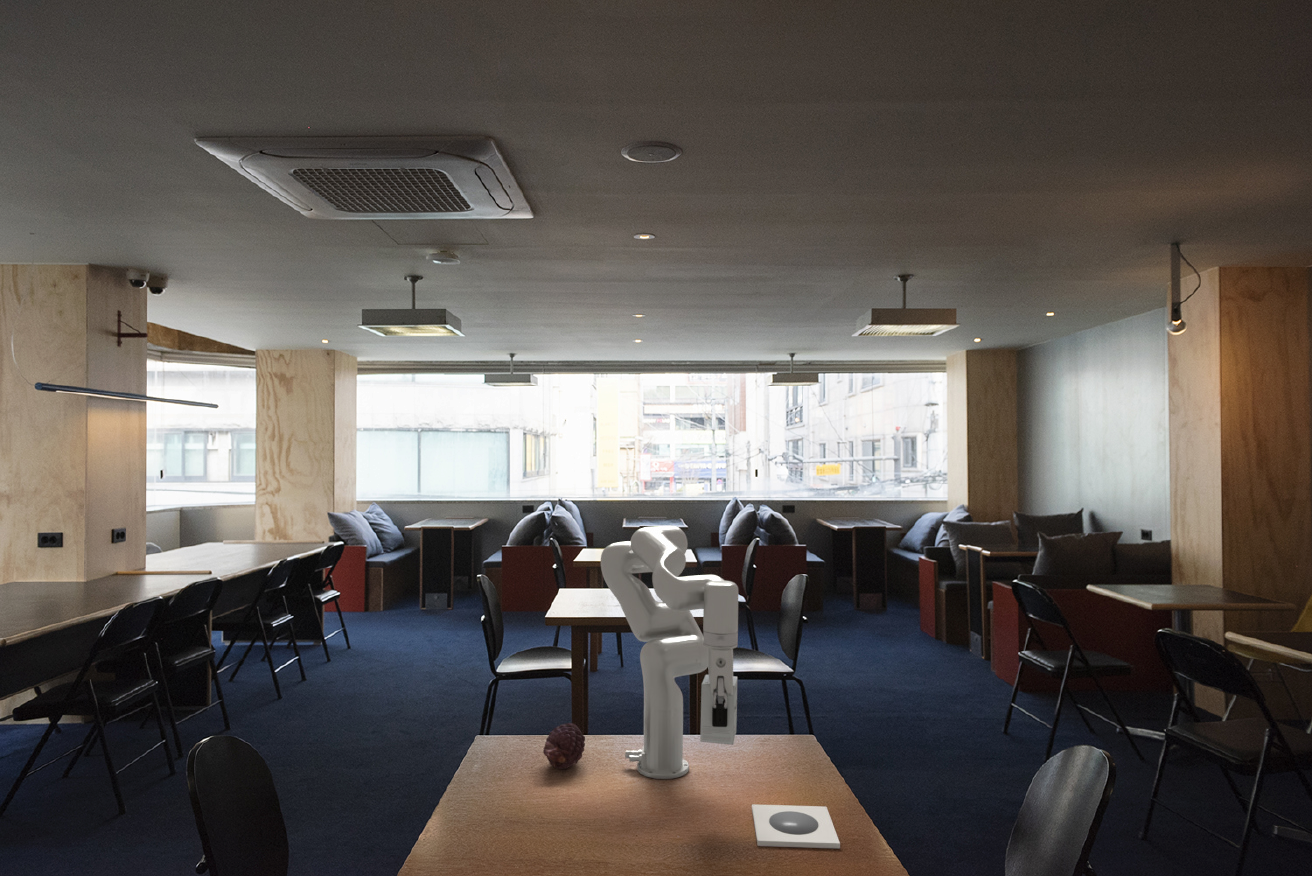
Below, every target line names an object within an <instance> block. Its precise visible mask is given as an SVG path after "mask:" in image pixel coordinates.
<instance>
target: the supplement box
mask: <svg viewBox="0 0 1312 876" xmlns="http://www.w3.org/2000/svg"><path fill="white" fill-rule="evenodd" d="M717 683H718V677H717ZM700 690H701V694H700V695H701V696H700V701H701V702H700V730H699V731H700V736H699V737H700V739H699V741H700V742H702V743H708V744H709V743H710V744H718V745H720V744H721V745H730V746H731V745H734V744H735V738H736V734H737V720H738V717H737V714H738V676H734V675H733V695H732V696H730V694H727V708H728V712H727V727H713V726H712V707H714V696H713V695H712V694H711V691H710V682H709V674H705V675H704V678H703V680H702V682H701V689H700ZM725 690H726V689H725V686H724V693H725ZM713 692H714V691H713ZM715 693H718V684H717V686H716V688H715ZM713 694H714V693H713ZM717 698H718V696H716V699H717Z"/></svg>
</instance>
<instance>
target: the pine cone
mask: <svg viewBox="0 0 1312 876" xmlns="http://www.w3.org/2000/svg"><path fill="white" fill-rule="evenodd" d="M545 740H546V741H545V742H544V747H543V749H542V750H543V752H542V753H543V755H544V756H545V757H546V758H547V760H548V762H549V764H550V766H554V768H555V769H557V768H558V769H559V770H562V769H564V770H565V769H566V770H567V769H568V768H569V767H573V766H574V765H576V764H578V762H579V761H580V760H581V759H582V758H583V752H584V751H585V747H586V743H585V741H586V737H585V735H584V734H583V733H582V731H581V730H580V728H579V727H578V725H576V724H574V723H573V722H568V723H564V724H559V725H557V726H556V727H554V728H553V729H552V731H550V732H549V734H548V737H547V738H546V739H545Z"/></svg>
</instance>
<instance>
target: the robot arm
mask: <svg viewBox="0 0 1312 876" xmlns="http://www.w3.org/2000/svg"><path fill="white" fill-rule="evenodd" d="M688 544H689V543H688V538H687V536H686V533H685V532H684V531H683V530H682V529H681V528H680V527H678V526H675V525H658V526H645V527H642V528H639V529H637V530H635V532H634V533H633V534H632V536H631V537H630V541H629V540H627V541H619V542H618V541H617V542H613V543H611V544H609V545H607V546H606V547H604V549H603V550H602V552H601V555H600V569H601V573H602V577H603V580H604V581H605V583H606V585H607V587H608V589H609V590H610V592H611V593H612V594H613V596H614V597H615V599H616V600H617V602H618V603H619V604H620V607H621V610H622V612H623V614H624V616H625V619H626V621H627V623H628V625H629V627H630V630H631V632H632V633H633V635H634V637H635V638H636V639H637V641H639V642H644V645H643V646H642V647H641V650H640V653H639V660H640V666H641V673H642V680H643V745H642V749H641V748H640V749H638V750H632V749H625V752H624V753H625V754H624V756H625V759H628V760H629V762H634V763H635V762H637V764H636V770H637V772H638V773H640V775H642V776H644V777H647V778H652V779H655V780H656V779H657V780H670V779H677V778H681V777H683V776H685V775H686V774H687V773H688V772H689V771H690V765H689V762H688V761H687V760H686V759H684V757H683V756H684V753H683V750H684V746H683V744H684V743H683V740H684V697H683V693H682V691H681V688H680V686H679V685H678V684H677V683H676V680H675V678H678V677H683V676H689V675H695V674H699V673H703V672H705V670H707V669H708V675H709V682H710V691H711V694H712V695H713V696H714V707H712V726H713V727H727V712H728V708H727V694H730V696H732V695H733V676H734V649H736V648H738V641H739V640H738V638H739V635H738V633H739V586H738V585H737V583H735V582H734V581H731V580H725V579H724V578H722V577H721V576H720V575H719V576H718V575H717V574H700V575H699V574H698V575H695V574H694V575H687V576H686V575H685V576H680V575H681V574H682V573H683V570H685V567H686V563H687V557H686V555H685V554H686V552H687V550H688ZM640 573H641V574H643V573H652V576H651V580H652V586H653V590H654V593H655V594H656V596H657V597H658V599H659V600H661V601H657V600H656V599H655V598H654V597H653V595H652V592H651V590H650V589H649V587H648V586H647V585H646V584H645V583H644V582H643V581H642V580H641V579H640V578H638V577H636V576H634V575H633V574H640ZM696 610H703V611H702V612H703V614H702V615H703V619H702V623H703V624H702V625H703V626H702V628H703V629H702V631H701V629H700V627H699V625H698V623H697V621H696V620H695V618H694V615H693V614H692V612H691V611H696ZM717 677H718V683H717ZM717 684H718V693H715V688H716V686H717ZM724 686H725V689H726V690H725V693H724ZM713 691H714V692H713ZM713 693H714V694H713ZM716 696H718V698H717V699H716Z"/></svg>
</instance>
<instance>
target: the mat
mask: <svg viewBox="0 0 1312 876" xmlns="http://www.w3.org/2000/svg"><path fill="white" fill-rule="evenodd" d="M751 814H752V819H753V827H754V831H755V838H756V844H757V846H758V847H780V848H781V847H783V848H787V847H788V848H809V849H810V848H811V849H812V848H817V849H841V842H840V840H839V837H838V834H837V832H836V829H835V827H834V824H833V820H832V818H831V815H830V813H829V810H828V807H827V806H818V805H817V806H815V805H812V806H811V805H790V804H789V805H786V804H785V805H784V804H783V805H781V804H756V803H755V804H751Z"/></svg>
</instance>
